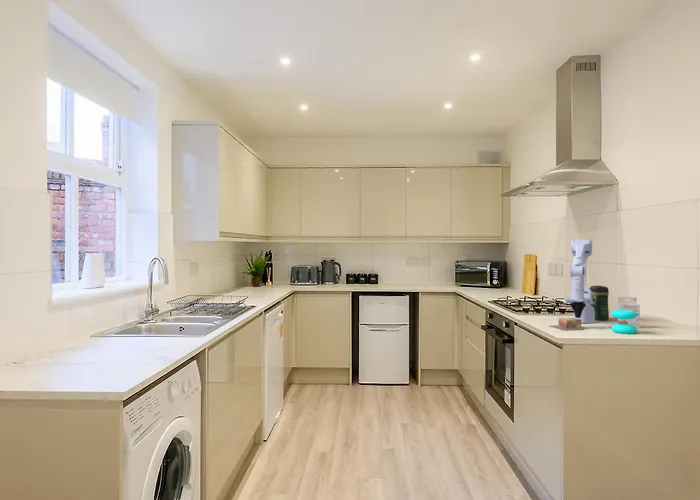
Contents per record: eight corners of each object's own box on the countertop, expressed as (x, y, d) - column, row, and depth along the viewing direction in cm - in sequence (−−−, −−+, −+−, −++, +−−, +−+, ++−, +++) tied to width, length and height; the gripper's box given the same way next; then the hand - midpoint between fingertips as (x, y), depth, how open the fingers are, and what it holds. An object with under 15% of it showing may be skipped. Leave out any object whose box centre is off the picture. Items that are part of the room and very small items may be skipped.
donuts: (607, 310, 205) (618, 308, 210) (607, 331, 205) (618, 329, 210) (630, 313, 196) (641, 311, 202) (630, 335, 196) (641, 333, 202)
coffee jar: (611, 320, 237) (611, 286, 237) (597, 320, 236) (597, 286, 236) (600, 317, 246) (599, 284, 246) (586, 318, 246) (586, 285, 246)
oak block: (573, 317, 219) (558, 318, 218) (581, 319, 213) (566, 320, 212) (573, 325, 219) (558, 326, 218) (581, 328, 213) (566, 328, 212)
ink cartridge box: (619, 327, 216) (619, 297, 216) (617, 325, 221) (617, 296, 221) (640, 328, 213) (639, 298, 213) (637, 326, 218) (636, 297, 218)
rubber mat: (567, 325, 222) (567, 325, 222) (583, 329, 210) (583, 329, 210) (549, 326, 220) (549, 325, 220) (564, 330, 208) (564, 329, 208)
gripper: (569, 291, 211) (569, 319, 211) (596, 290, 213) (596, 318, 213) (560, 289, 218) (560, 317, 218) (586, 289, 220) (586, 316, 220)
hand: (577, 317), depth 216 cm, fingers closed
